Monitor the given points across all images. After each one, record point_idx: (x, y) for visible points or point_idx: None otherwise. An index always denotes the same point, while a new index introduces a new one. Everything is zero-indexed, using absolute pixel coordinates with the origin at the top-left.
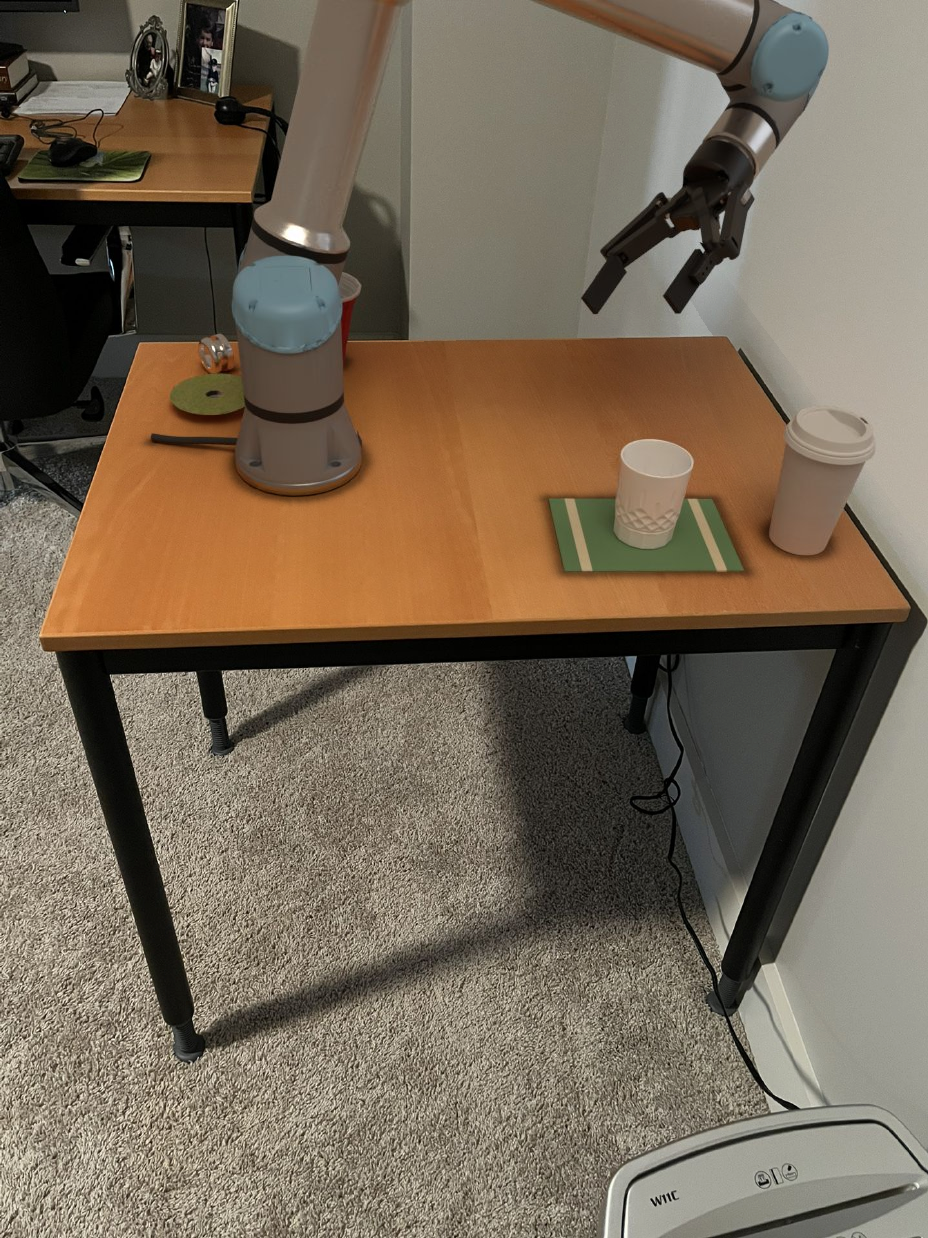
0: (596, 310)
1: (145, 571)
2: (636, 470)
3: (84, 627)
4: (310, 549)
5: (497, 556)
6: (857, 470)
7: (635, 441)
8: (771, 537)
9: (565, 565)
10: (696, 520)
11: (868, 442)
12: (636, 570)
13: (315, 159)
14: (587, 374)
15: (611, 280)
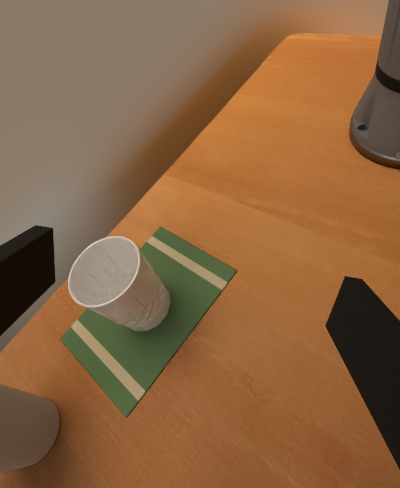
0: (330, 322)
1: (315, 55)
2: (107, 237)
3: (285, 40)
4: (285, 116)
5: (204, 200)
6: None
7: (136, 271)
8: (51, 401)
9: (163, 229)
10: (120, 365)
11: None
12: None
13: None
14: None
15: (377, 380)
